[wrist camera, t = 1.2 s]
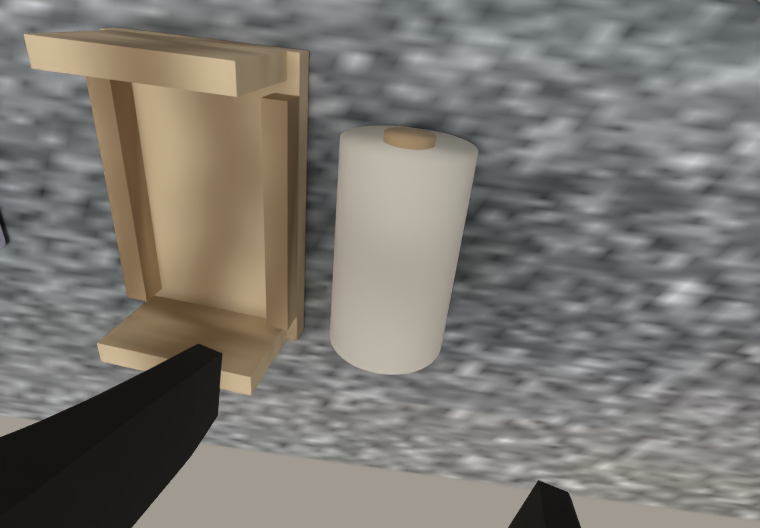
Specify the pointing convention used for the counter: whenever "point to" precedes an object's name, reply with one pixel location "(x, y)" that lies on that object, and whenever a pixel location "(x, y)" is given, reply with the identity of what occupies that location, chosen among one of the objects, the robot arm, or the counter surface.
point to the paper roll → (397, 243)
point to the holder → (198, 190)
